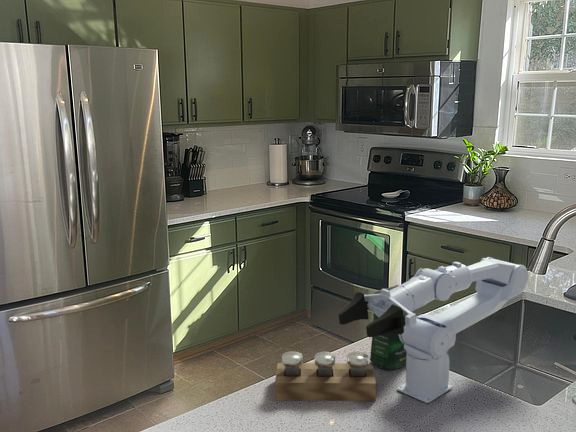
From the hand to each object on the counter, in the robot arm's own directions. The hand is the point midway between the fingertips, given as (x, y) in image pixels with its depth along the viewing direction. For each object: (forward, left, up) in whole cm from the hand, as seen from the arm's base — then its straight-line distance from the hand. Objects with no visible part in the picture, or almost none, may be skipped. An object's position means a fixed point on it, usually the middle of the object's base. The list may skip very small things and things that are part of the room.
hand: (353, 325), depth 105 cm
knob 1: (0, -18, -18) cm, 25 cm away
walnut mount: (-5, -13, -20) cm, 24 cm away
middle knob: (-5, -13, -18) cm, 22 cm away
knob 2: (-10, -8, -18) cm, 22 cm away
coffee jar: (-26, -11, -20) cm, 35 cm away
